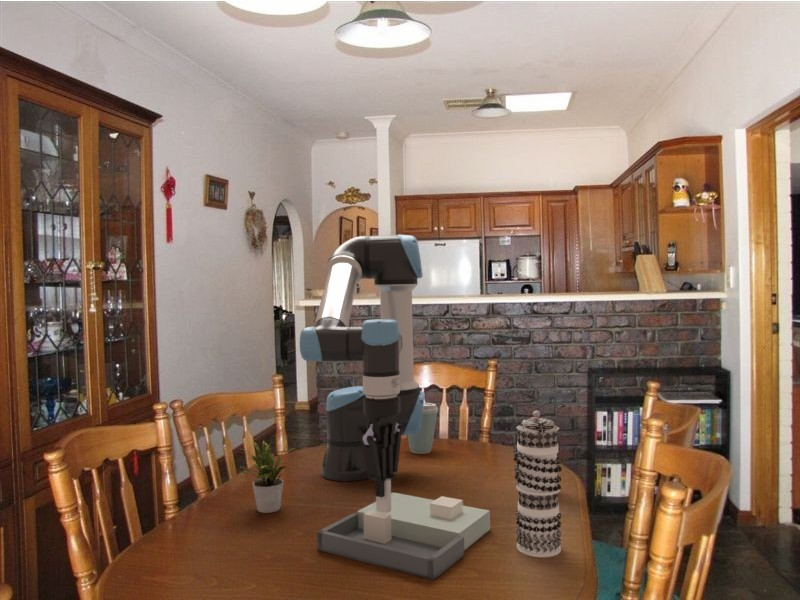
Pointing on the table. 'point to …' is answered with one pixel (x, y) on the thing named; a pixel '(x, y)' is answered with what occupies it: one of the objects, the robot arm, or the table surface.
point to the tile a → (377, 527)
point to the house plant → (267, 480)
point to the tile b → (446, 507)
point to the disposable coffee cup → (424, 431)
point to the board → (431, 521)
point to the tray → (389, 550)
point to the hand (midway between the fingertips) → (383, 510)
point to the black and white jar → (538, 488)
